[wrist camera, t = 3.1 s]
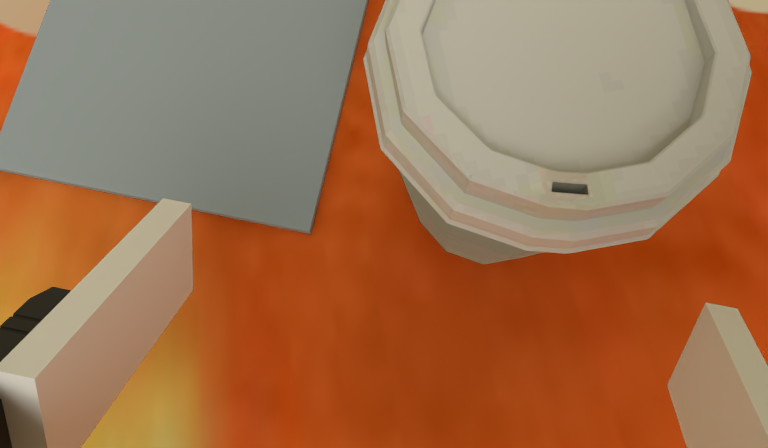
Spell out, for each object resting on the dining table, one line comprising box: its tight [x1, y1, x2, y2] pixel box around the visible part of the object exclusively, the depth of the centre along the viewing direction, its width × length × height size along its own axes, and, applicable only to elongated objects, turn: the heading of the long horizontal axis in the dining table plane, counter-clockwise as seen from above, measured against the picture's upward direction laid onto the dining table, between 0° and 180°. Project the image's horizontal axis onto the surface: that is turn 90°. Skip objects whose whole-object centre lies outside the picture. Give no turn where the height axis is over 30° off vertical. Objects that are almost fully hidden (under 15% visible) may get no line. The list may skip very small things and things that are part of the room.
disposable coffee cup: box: [363, 0, 752, 265], centre depth 24 cm, size 11×11×15 cm
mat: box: [0, 0, 369, 234], centre depth 34 cm, size 16×21×1 cm
